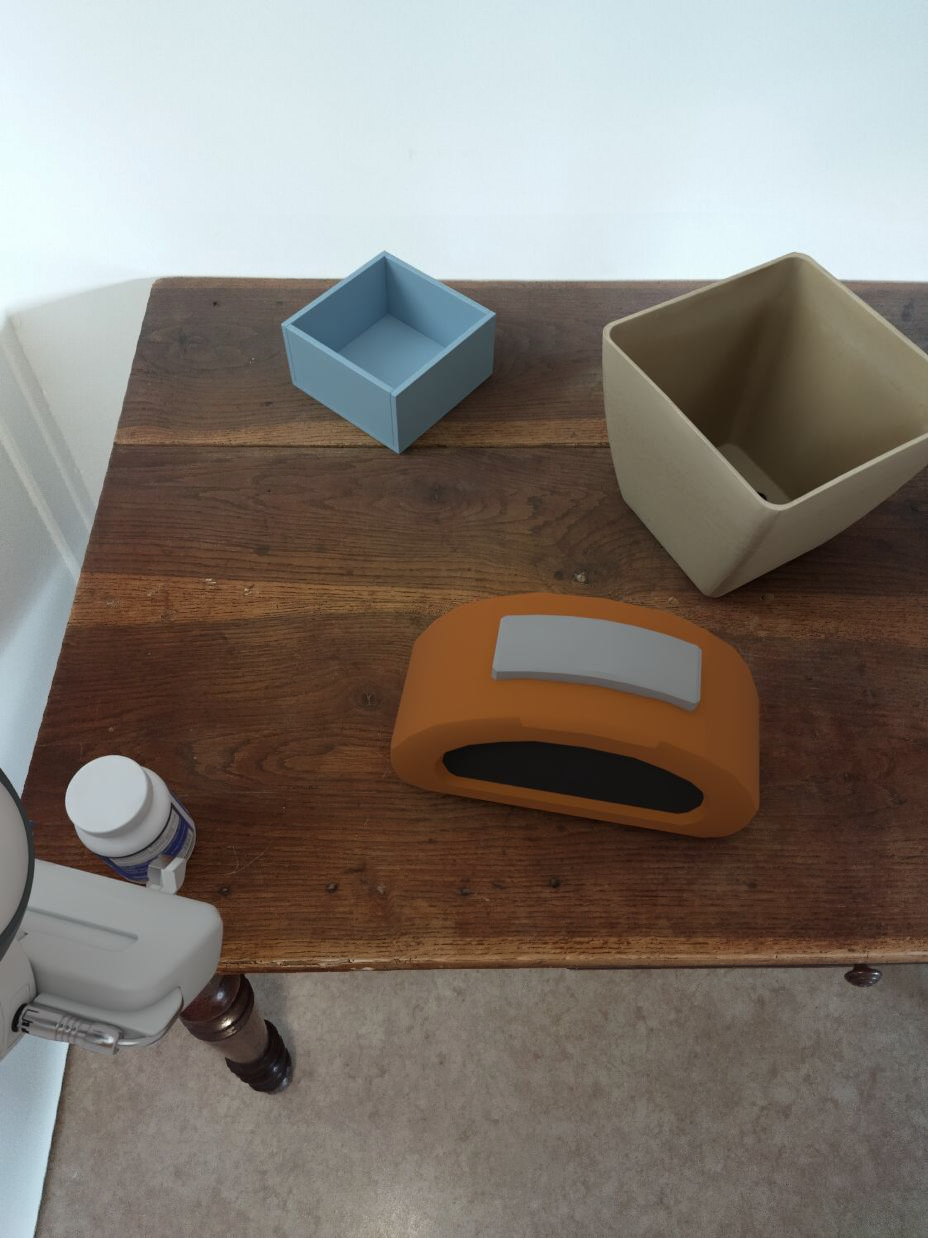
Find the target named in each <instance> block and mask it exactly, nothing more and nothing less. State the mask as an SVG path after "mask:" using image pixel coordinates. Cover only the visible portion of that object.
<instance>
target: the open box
mask: <svg viewBox="0 0 928 1238" xmlns="http://www.w3.org/2000/svg"><path fill="white" fill-rule="evenodd" d="M496 324H497V313H496V312H494V311H492V310H490V309H489V308H487V307H485V306H483V305H482V304H481V303H479V302H476V301H475V300H473V299H471V298H470V297H468V296H466V295H464V294H463V293H461V292H459V291H457V290H455V289H454V288H452V287H450V286H448V285H447V284H444V283H443V282H442V281H440V280H437V279H436V278H434V277H433V276H431V275H429V274H427V273H425V272H424V271H422V270H420V269H419V268H416V267H414V266H413V265H412V264H409V263H408V262H406V261H405V260H402V259H401V258H399V257H397V256H395V255H394V254H391V253H390V252H388V251H386V250H382V251H381V252H380V253H378V254H377V255H376V256H373V258H371V259H370V260H368V261H367V262H365V263H364V264H363V265H361V266H360V267H358V268H357V269H356V270H355V271H353V272H352V273H350V274H349V275H348V276H346V277H344V278H343V279H342V280H340V281H339V282H337V283H336V284H335V285H333V286H332V287H330V288H329V289H328V290H326V291H325V292H324V293H322V294H321V295H319V296H318V297H317V298H315V299H314V300H312V301H311V302H310V303H308V304H307V305H305V306H304V307H303V308H302V309H300V310H299V311H297V312H296V313H294V314H293V315H291V316H290V317H289V318H287V319H286V320H284V321H283V322H282V323H281V324H280V327H281V331H282V336H283V341H284V347H285V352H286V357H287V363H288V367H289V373H290V377H291V382H292V385H293V386H294V387H296V388H298V389H299V390H301V391H302V392H303V393H305V394H307V395H308V396H309V397H311V398H312V399H314V400H316V401H317V402H319V403H320V404H322V405H323V406H324V407H326V408H328V409H329V410H331V411H332V412H334V413H335V414H337V415H338V416H340V417H342V418H343V419H345V420H346V421H347V422H349V423H350V424H352V425H354V426H355V427H357V428H358V429H360V430H361V431H363V432H364V433H366V434H367V435H369V436H370V437H372V438H373V439H375V440H376V441H378V442H379V443H380V444H382V445H384V446H386V447H387V448H389V449H390V450H392V451H393V452H394V453H396V454H397V455H401V454H402V453H403V452H404V451H405V450H406V449H408V448H409V447H410V446H411V445H412V444H413V443H415V442H416V441H417V440H418V439H419V438H420V437H421V436H423V435H424V434H425V433H426V432H427V431H428V430H430V429H431V428H432V427H433V426H434V425H436V423H437V422H439V421H440V420H441V419H442V418H443V417H445V416H446V415H447V414H448V413H449V412H450V411H451V410H452V409H454V408H455V407H456V406H457V405H458V404H459V403H461V402H462V401H464V400H465V398H466V397H468V396H469V395H470V394H471V393H472V392H473V391H475V389H477V388H478V387H479V386H481V384H482V383H484V382H485V381H486V380H487V379H488V378H489V377H491V376H492V375H493V371H494V370H493V369H494V358H495V357H494V353H495V339H496V336H495V335H496Z"/></svg>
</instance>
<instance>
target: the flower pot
mask: <svg viewBox="0 0 928 1238" xmlns="http://www.w3.org/2000/svg"><path fill="white" fill-rule="evenodd" d="M601 344H602V347H601V349H602V352H601V353H602V355H601V357H602V358H601V363H602V364H601V365H602V386H603V387H602V388H603V389H602V390H603V402H604V404H603V405H604V415H605V421H606V430H607V436H608V437H607V438H608V442H609V447H610V454H611V458H612V463H613V467H614V471H615V476H616V481H617V484H618V486H619V491H620V494H621V497H622V499H623V501H624V503H626V505H628V507H629V508H630V509H631V510H632V511H633V512H634V514H635V515H636V516H637V517H638V519H639V520H640V521H641V523H643V525H644V526H645V527H646V528H647V530H649V532H650V533H651V535H653V537H654V538H655V539H656V541H658V542H659V544H660V545H661V546H662V547H663V548H664V550H665V551H666V552H667V553H668V555H670V557H671V558H672V559H673V560H674V562H675V563H676V564H677V565H678V566H679V568H680V569H681V570H682V571H683V572H684V573H685V575H686V576H687V577H688V578H689V579H690V580H691V582H692V583H693V584H694V585H695V586H696V588H697V589H698V590H699V591H700V592H701V593H702V594H703V595H704V596H706V597H708V598H715V599H716V598H720V597H722V596H724V595H727V594H728V593H730V592H732V591H734V590H736V589H738V588H740V587H742V586H744V585H746V584H748V583H750V582H752V581H754V580H755V579H758V578H759V577H761V576H763V575H765V574H767V573H769V572H771V571H773V570H775V569H776V568H777V569H778V568H779V567H780V566H782V565H785V564H787V563H789V562H790V561H793V560H794V559H796V558H798V557H800V556H802V555H804V554H806V553H808V552H810V551H812V550H814V549H816V548H817V547H820V546H822V545H824V544H826V542H828V541H829V540H831V539H832V538H834V537H836V536H837V535H839V534H840V533H842V532H844V531H845V530H846V529H847V528H849V527H850V526H852V525H853V524H854V523H856V522H857V521H858V520H861V518H863V517H865V516H866V515H867V514H869V513H871V511H872V510H874V509H875V508H877V507H878V506H879V505H880V504H881V503H883V502H884V501H886V500H887V499H888V498H890V497H891V496H892V495H894V493H896V492H897V491H899V489H900V488H902V487H903V486H904V485H906V483H908V482H909V481H911V479H912V478H914V477H915V476H916V475H917V474H918V473H920V472H921V471H922V470H923V469H924V468H925V467H927V466H928V354H927V353H926V352H925V351H924V350H923V349H921V348H920V347H919V346H918V345H917V344H915V342H913V341H912V340H911V339H909V338H908V337H907V336H906V335H904V333H902V332H901V330H899V329H897V328H896V326H894V325H893V324H892V323H891V322H890V321H889V320H887V319H885V318H884V317H883V315H881V314H880V313H879V312H877V311H876V310H875V309H874V308H872V307H871V305H870V304H868V303H867V302H865V301H864V300H863V299H862V298H861V297H859V296H858V295H857V294H856V293H855V292H853V291H852V289H850V288H849V287H847V285H845V284H844V283H843V282H842V281H840V280H839V279H838V278H837V277H835V275H833V274H832V273H830V272H829V270H827V269H826V268H825V267H824V266H823V265H821V264H820V263H818V261H817V260H815V258H813V257H811V255H809V254H806V253H804V252H798V251H793V252H789V253H786V254H784V255H781V256H779V257H776V258H774V259H771V260H769V261H766V262H764V263H761V264H759V265H756V266H754V267H751V268H748V269H745V270H743V271H740V272H738V273H736V274H733V275H730V276H728V277H726V278H723V279H721V280H718V281H715V282H713V283H710V284H708V285H705V286H703V287H699V288H697V289H694V290H692V291H689V292H687V293H684V294H681V295H679V296H677V297H674V298H671V299H669V300H666V301H664V302H661V303H659V304H658V303H657V304H656V305H653V306H651V307H648V308H645V309H643V310H640V311H637V312H635V313H631V314H630V315H627V316H624V317H622V318H619V319H616V320H613V321H611V322H609V323H607V324H606V325H605V326H604V327H603V329H602V343H601ZM760 494H761V495H763V496H764V498H765V499H764V498H763V497H762V496H760Z"/></svg>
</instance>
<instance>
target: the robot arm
mask: <svg viewBox="0 0 928 1238" xmlns="http://www.w3.org/2000/svg"><path fill="white" fill-rule="evenodd" d="M28 816H29V815H28V814H27V811H26V808H25V806H24V804H23V802H22V800H21V798H20V796H19V793H18V792H17V790H16V789H15V787H14V785H13V784H12V782H11V780H10V779H9V777H8V776H7V774H6V773H5V772H4V770H3V769H2V768H1V767H0V1063H1V1062H2V1061H3V1060H4V1059H5V1058H6V1057H7V1056H8V1054H10V1052H11V1051H12V1050H14V1048H15V1047H16V1046H17V1045H18V1044H19V1043H20V1042H21V1041H22V1039H24V1037H25V1035H26V1034H27V1035H30V1036H34V1037H37V1038H41V1039H44V1040H48V1041H53V1042H59V1043H66V1044H71V1045H75V1046H79V1047H82V1048H83V1049H84V1050H86V1051H88V1052H90V1053H94V1054H98V1055H102V1056H114V1055H117V1054H118V1052H120V1050H134V1049H135V1050H136V1049H141V1048H152V1047H155V1046H157V1045H158V1044H159V1043H160V1042H162V1041H163V1040H164V1039H165V1038H166V1036H167V1035H168V1034H169V1032H170V1031H171V1029H172V1028H173V1026H174V1025H175V1024H176V1022H177V1021H178V1019H179V1017H180V1016H181V1014H182V1013H183V1012H184V1011H185V1010H186V1009H187V1008H188V1006H189V1005H190V1004H191V1003H193V1001H194V1000H195V999H196V998H197V997H198V996H199V995H200V993H201V992H202V991H203V990H204V989H205V988H206V986H207V985H208V984H209V983H210V981H211V980H212V979H213V977H214V976H215V974H216V972H217V970H218V966H219V962H220V958H221V952H222V946H223V937H224V922H223V919H222V917H221V914H220V912H219V910H218V908H217V907H216V906H215V905H213V904H211V903H209V902H205V901H201V900H197V899H192V898H189V897H185V896H181V895H177V892H178V891H179V890H180V889H181V887H182V886H183V884H184V881H185V878H186V869H187V862H186V859H184V858H179V857H174V856H170V855H165V854H159V855H158V859H155V860H153V861H152V862H151V863H150V864H149V865H148V873H147V876H148V878H149V881H148V882H147V883H146V884H145V886H143V885H142V886H141V885H138V884H135V883H132V882H127V881H124V880H119V879H115V878H112V877H109V876H104V875H100V874H97V873H93V872H88V871H85V870H81V869H77V868H73V867H69V866H66V865H62V864H58V863H54V862H50V861H46V860H42V859H38V858H36V853H35V852H36V851H35V841H34V839H35V838H34V837H35V834H34V831H33V830H34V829H35V821H34V820H32V819H29V817H28Z"/></svg>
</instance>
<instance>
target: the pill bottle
mask: <svg viewBox="0 0 928 1238" xmlns="http://www.w3.org/2000/svg"><path fill="white" fill-rule="evenodd" d="M64 799H65V800H64V802H65V803H64V804H65V810H66V814H67V815H68V818H69V820H70V821H71V822H72V823H73V824H74V829H75V832H76V834H77V836H78V838H79V840H80V842H81V843H82V845H84V846H85V847H86V848H87V849H88V850H89V851H91V852H92V853H93V854H94V855H95V856H97V857H98V858H99V859H100V860H101V861H102V862H104V863H105V864H106V865H108V866H109V867H110V869H112V870H114V871H115V872H116V873H117V874H118V875H120V876H121V877H122V878H124V879H126V880H127V881H130V882H131V883H132V882H133V883H136V884H143V885H144V884H145V885H146V883H147V882H148V881H149V878H148V876H147V873H148V865H149V864H150V863H151V862H152V861H153V860H155V859H158V855H159V854H165V855H170V856H174V857H179V858H184V859H186V863H187V862H188V861H189V859H190V858H191V855H192V853H193V851H194V848H195V845H196V839H197V834H196V832H197V831H196V826H195V822H194V820H193V818H192V815H191V814H190V812H189V811H188V809H187V808H186V806H184V804H183V803H182V802H181V801H180V799H179V798H178V797H177V796H176V794H175V793H174V792H173V791H172V790H171V788H170V787H169V786H168V785H167V783H166V782H165V781H164V779H162V778H161V777H160V776H159V775H158V773H156V772H155V771H153V770H151V769H149V768H147V767H145V766H141V765H140V764H139V763H138V762H136V761H135V760H133V759H131V758H130V757H127V756H124V755H117V754H115V755H114V754H110V755H105V756H100V757H98V758H95V759H93V760H91V761H89V762H88V763H86V764H85V765H84V766H82V767H81V768H80V769H79V770H77V772H76V773H75V775H73V777H72V778H71V780H70V782H69V784H68V787H67V789H66V792H65V798H64Z"/></svg>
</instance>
